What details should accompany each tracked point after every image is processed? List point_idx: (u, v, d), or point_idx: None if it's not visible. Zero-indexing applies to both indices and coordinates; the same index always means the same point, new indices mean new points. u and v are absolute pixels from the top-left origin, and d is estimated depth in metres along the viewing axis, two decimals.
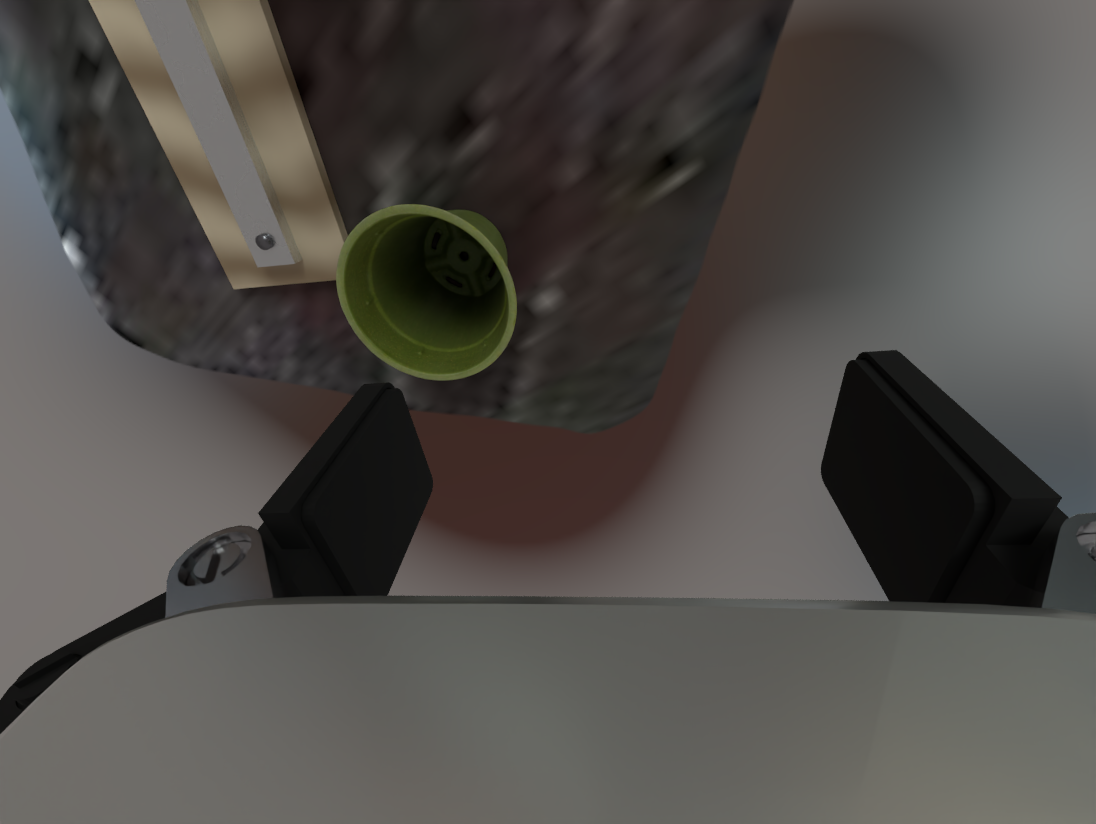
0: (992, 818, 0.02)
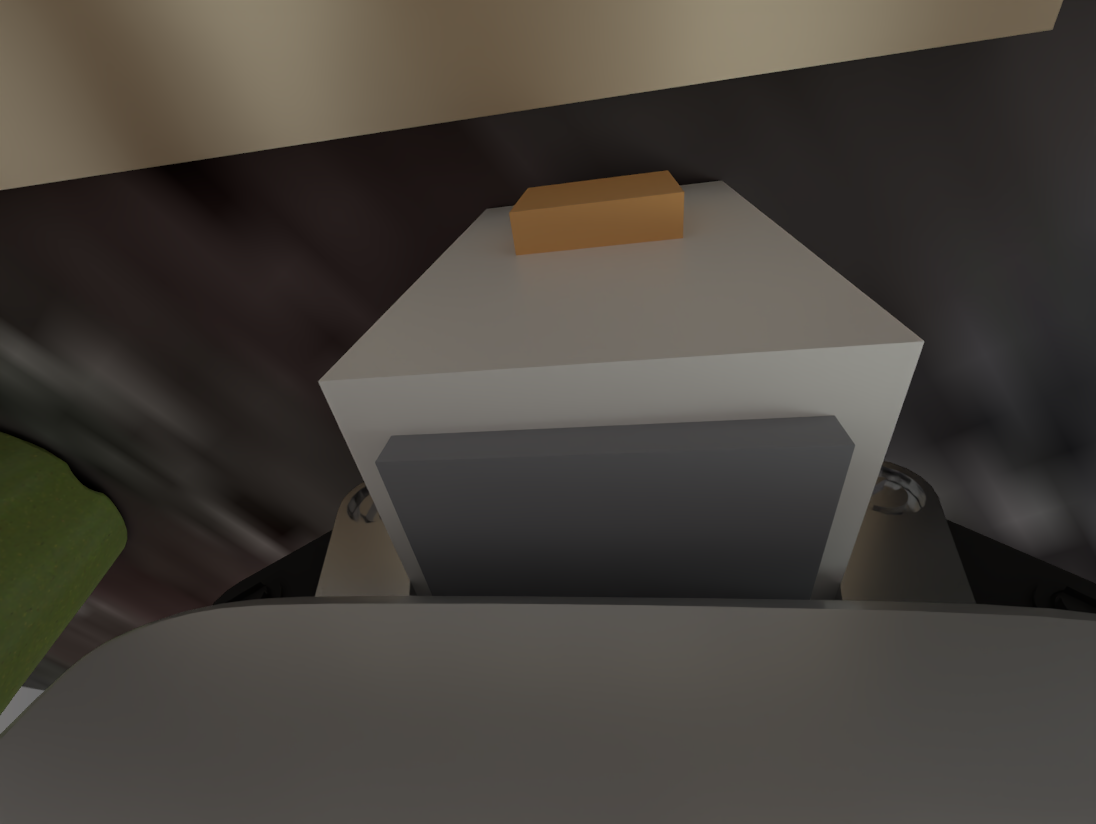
0: (991, 818, 0.02)
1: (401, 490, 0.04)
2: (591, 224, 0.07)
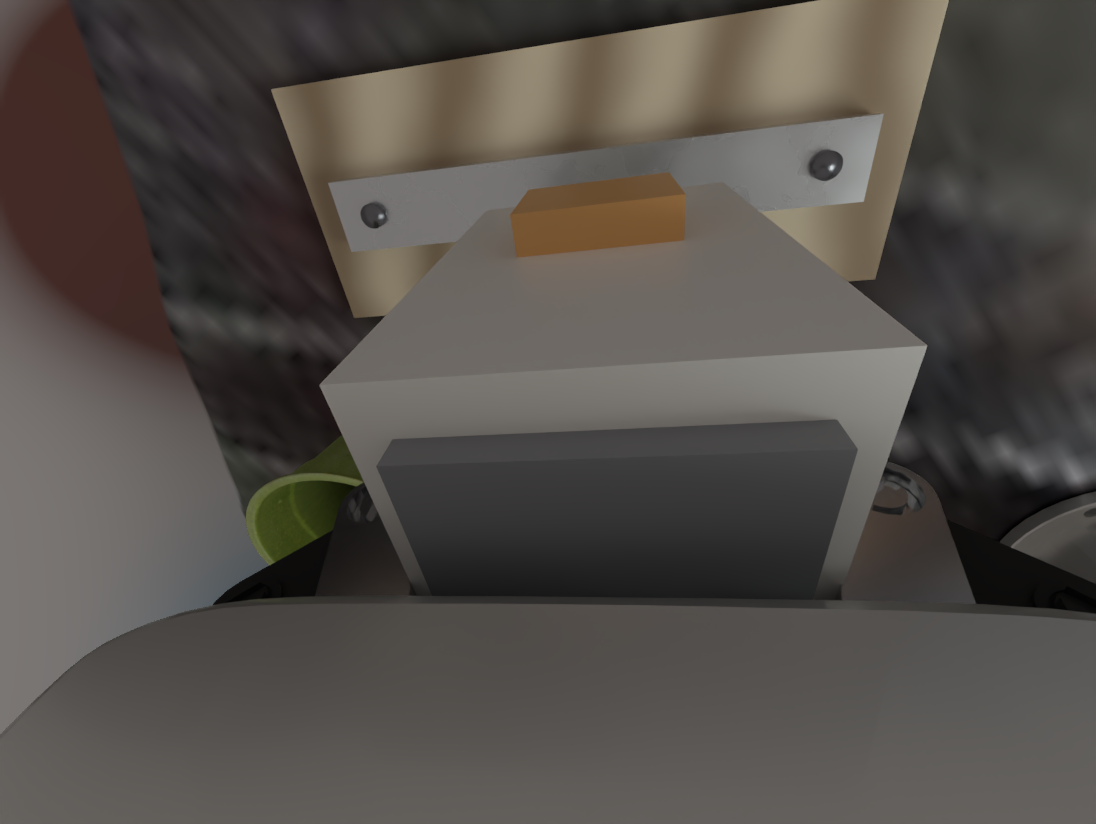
0: (992, 818, 0.02)
1: (402, 494, 0.04)
2: (592, 226, 0.07)
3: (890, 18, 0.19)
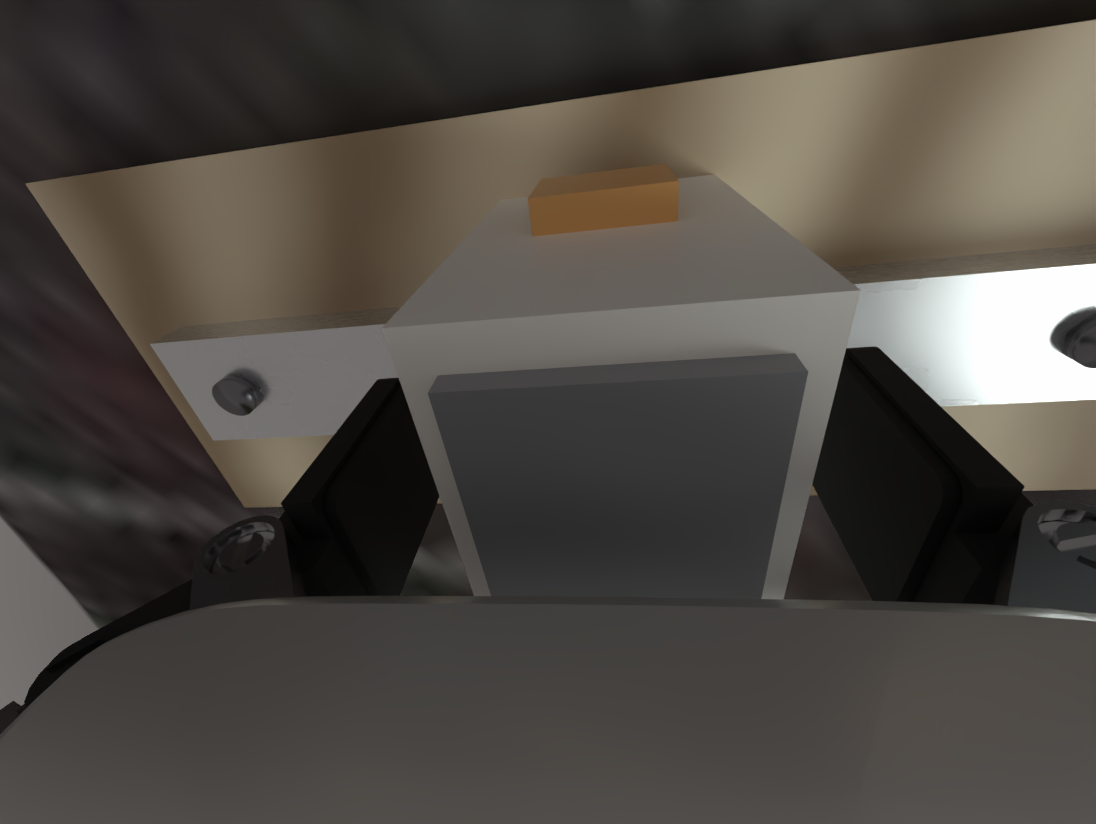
0: (992, 818, 0.02)
1: (447, 418, 0.05)
2: (598, 209, 0.08)
3: None
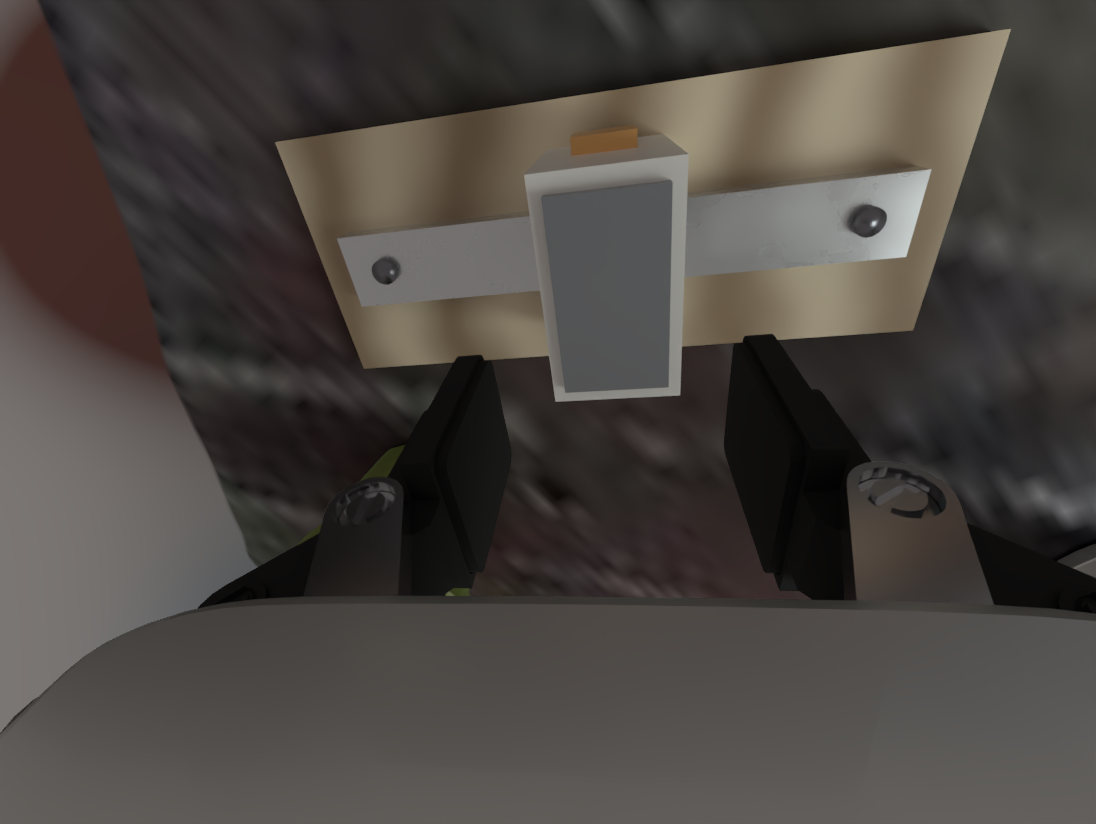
0: (991, 817, 0.02)
1: (547, 209, 0.15)
2: (602, 142, 0.17)
3: (940, 69, 0.18)
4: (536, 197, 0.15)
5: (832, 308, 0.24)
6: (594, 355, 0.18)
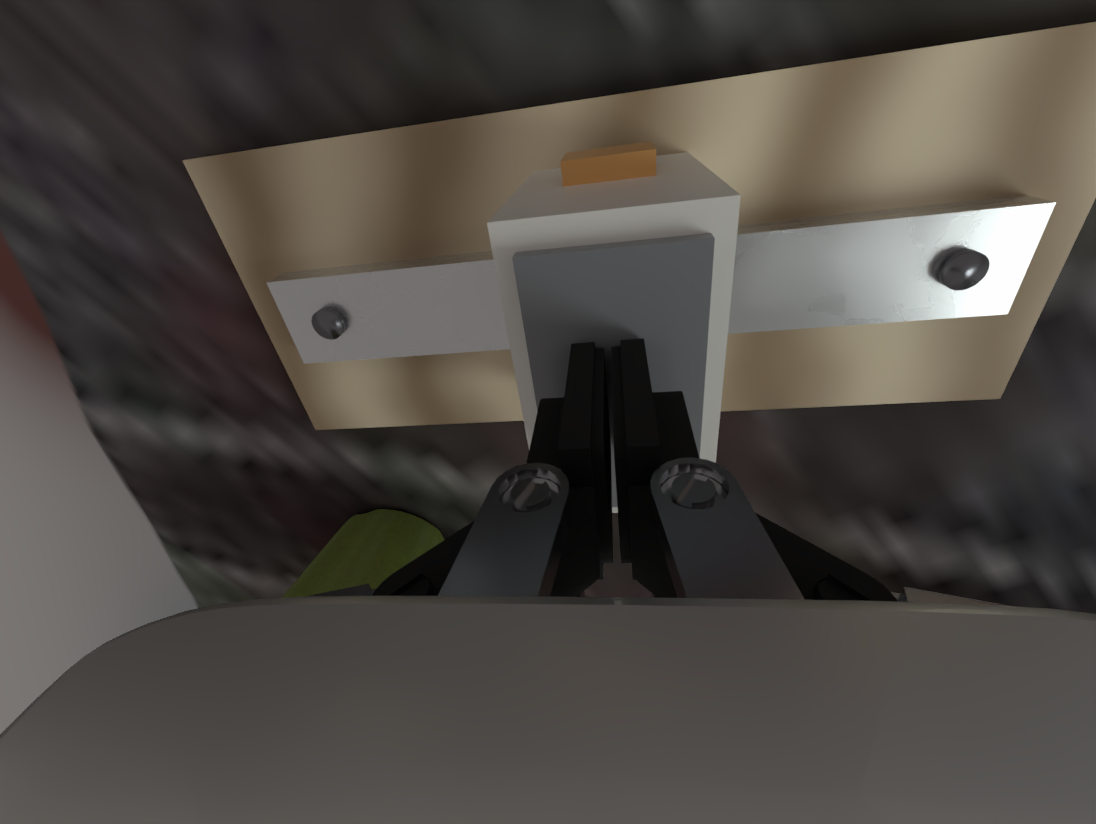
0: (991, 818, 0.02)
1: (521, 273, 0.10)
2: (605, 167, 0.12)
3: (1075, 66, 0.13)
4: (506, 255, 0.10)
5: (898, 371, 0.19)
6: None
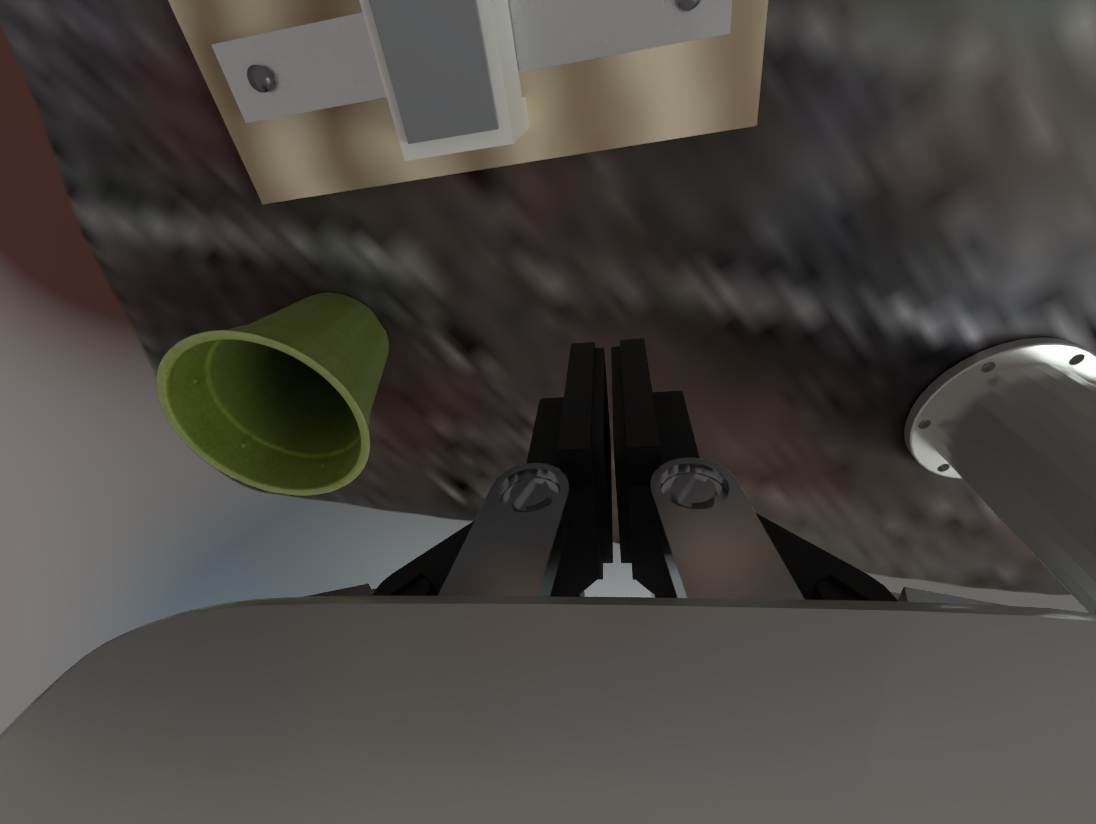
0: (991, 817, 0.02)
1: None
2: None
3: None
4: None
5: (681, 105, 0.26)
6: (425, 96, 0.19)
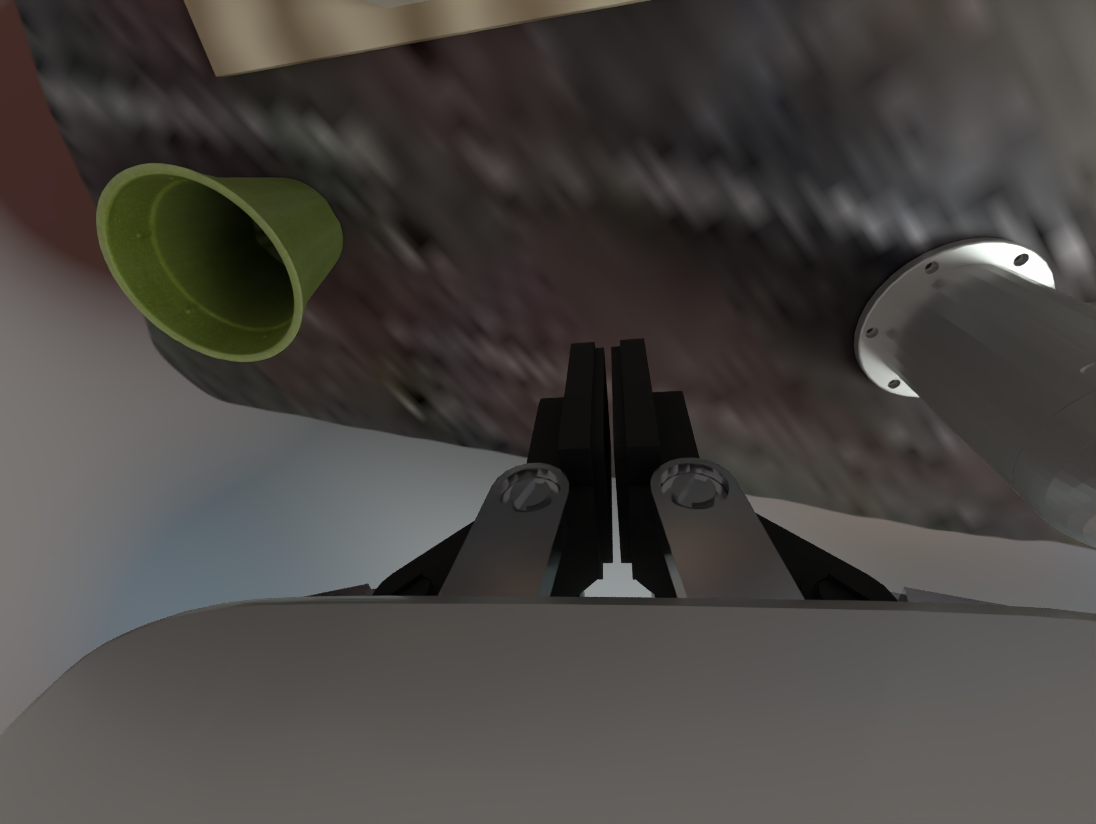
0: (992, 818, 0.02)
1: None
2: None
3: None
4: None
5: None
6: None
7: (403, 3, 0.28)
